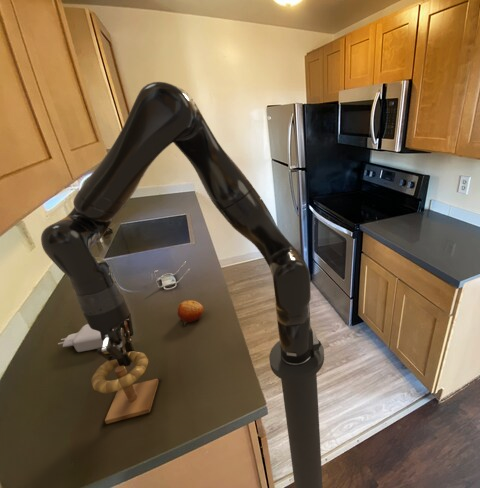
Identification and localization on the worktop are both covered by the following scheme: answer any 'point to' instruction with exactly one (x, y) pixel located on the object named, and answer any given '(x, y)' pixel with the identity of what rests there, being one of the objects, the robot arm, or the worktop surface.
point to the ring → (115, 385)
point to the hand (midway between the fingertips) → (128, 360)
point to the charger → (84, 339)
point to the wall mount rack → (169, 279)
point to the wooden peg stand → (131, 399)
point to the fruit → (190, 311)
